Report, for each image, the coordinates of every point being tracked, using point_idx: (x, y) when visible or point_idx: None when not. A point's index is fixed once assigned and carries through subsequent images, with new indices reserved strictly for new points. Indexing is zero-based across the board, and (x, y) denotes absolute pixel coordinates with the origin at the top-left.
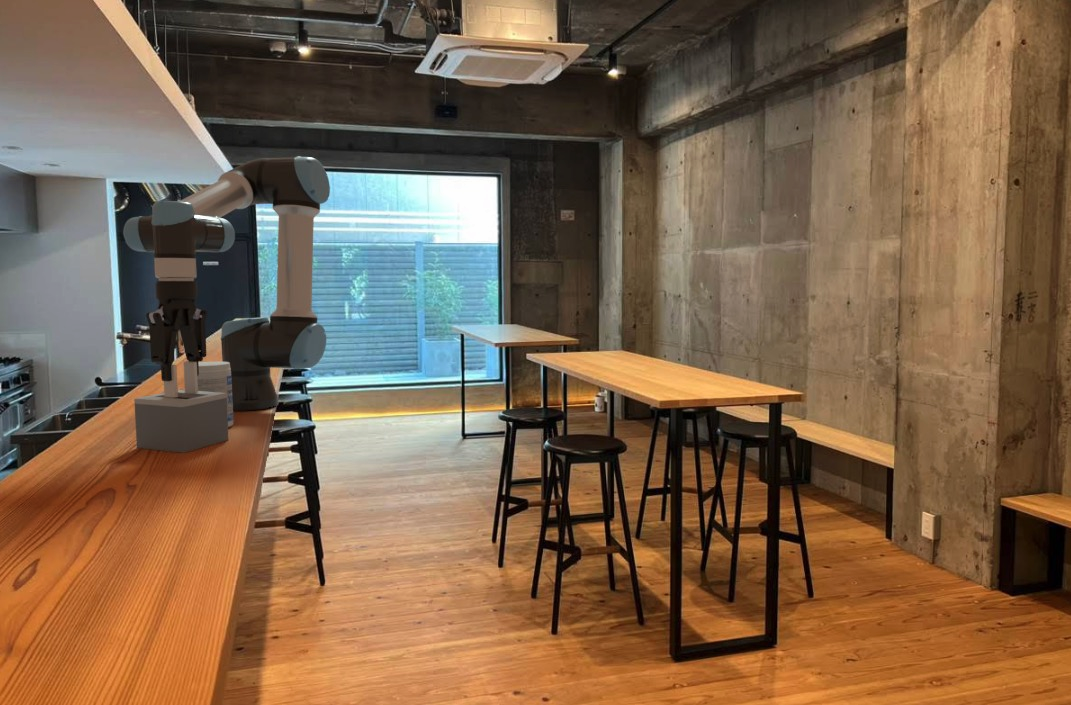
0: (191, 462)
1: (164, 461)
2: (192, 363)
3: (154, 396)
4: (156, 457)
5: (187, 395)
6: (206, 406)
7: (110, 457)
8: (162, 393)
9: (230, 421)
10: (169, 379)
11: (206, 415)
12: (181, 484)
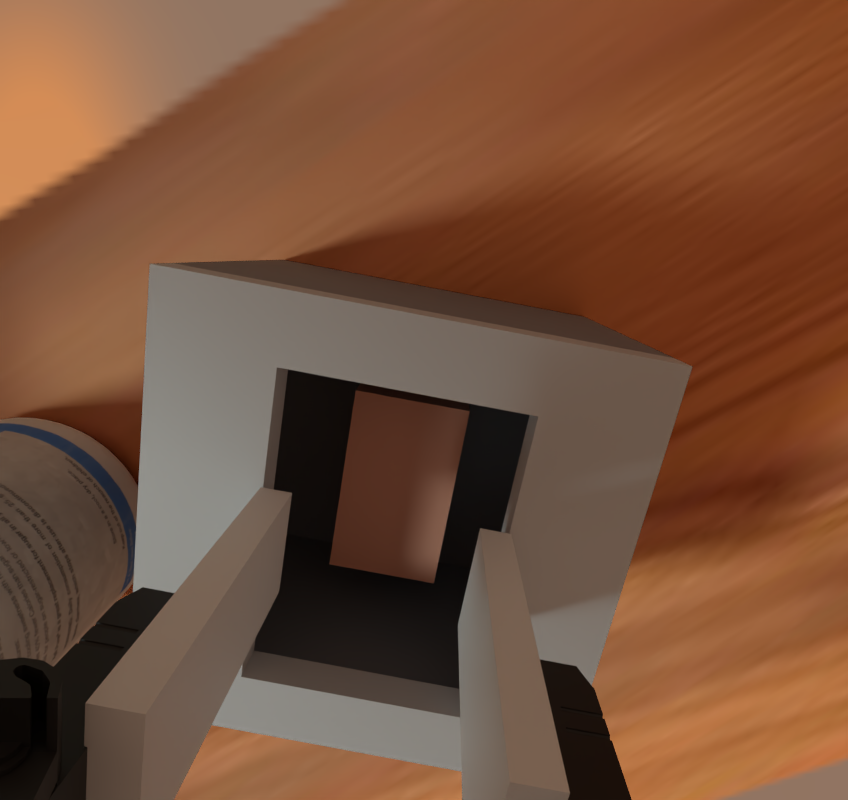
0: (773, 154)
1: (756, 304)
2: (154, 721)
3: (453, 716)
4: None
5: None
6: (415, 304)
7: (691, 578)
8: (315, 738)
9: (5, 422)
10: (555, 675)
11: (422, 299)
12: None
